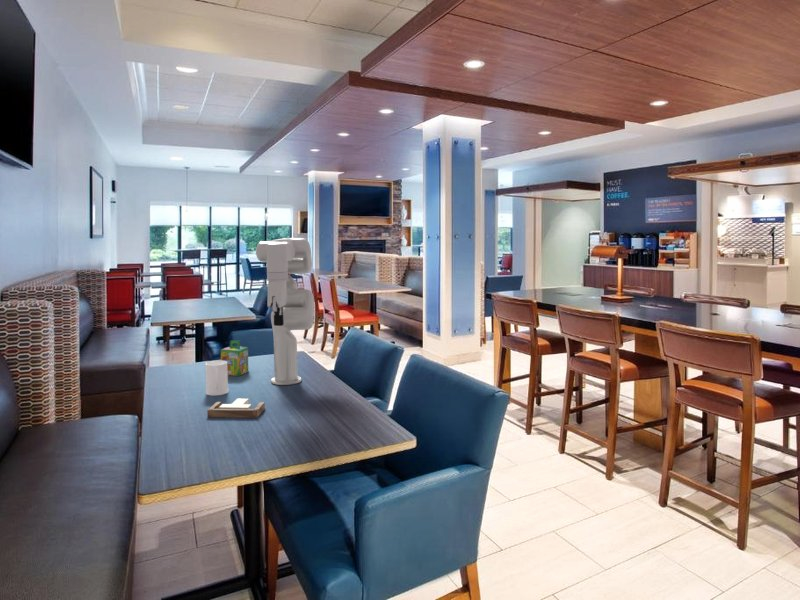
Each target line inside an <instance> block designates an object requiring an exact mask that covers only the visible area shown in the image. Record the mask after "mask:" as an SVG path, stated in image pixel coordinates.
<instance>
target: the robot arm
mask: <svg viewBox="0 0 800 600" xmlns="http://www.w3.org/2000/svg"><path fill="white" fill-rule="evenodd" d="M311 248H312V247H311V244H310V242H309V241H308V239H306V238H303V237H297V238H296V237H284V238H280V239H272V240H262V241H259V242H258V243H257V245H256V248H255V255H256V258H257V259H258V261H259V262H261V263H263V262H264V263H265V262H266V279H267V281H268V284H267V299H266V300H267V301H266V302H267V303H266V304H267V305H266V306H267V308H269V309H270V308H272V311H271V314H270V321H271V327H272V334H273V362H274V365H273V366H274V377H272V378H271V379H270V383H271V384H272V385H277V386H291V385H296V384H299V383H301V381H302V377H301V376H299V375H298V341H297V338H296V336H295V335H294V334H293V333H292V331H305V330H307V331H308V330H310V329H311V328H313V326H314V323H315V320H314V319H315V297H314V294H313V292H312V291H311V290H310V289H306V288H304V289H303V288H298V284H297V283H298V282H297V281H296V280H295V279H294V277H292V276H291V275H292V274H294V275H296V274H298V275H299V274H302V275H303V274H304V275H305V274H310V273H311V271H312V269H313V261H312V260H313V259H312V250H311ZM289 274H290V275H289Z"/></svg>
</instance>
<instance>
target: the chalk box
mask: <svg viewBox="0 0 800 600" xmlns="http://www.w3.org/2000/svg"><path fill="white" fill-rule="evenodd" d="M233 344H236V346H235V345H233ZM220 360H222V361H227V373H228V376H230V375H231V376H232V377H240V376H242V375H244V374H246V373H248V372H249V347H247V346H241V340H230V341H229V346H227V347H224V348H222V349H220ZM247 371H248V372H247ZM245 372H246V373H245Z"/></svg>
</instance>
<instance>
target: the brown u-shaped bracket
mask: <svg viewBox="0 0 800 600" xmlns="http://www.w3.org/2000/svg"><path fill="white" fill-rule="evenodd" d="M221 405H222V401H216V402H215V403H214V404H213V405H212V406H210V407H209V408H208V409H207V414H206V416H207V418H247V419H248V418H259V417H260V415H261V414H262V413H263V412H264V410H265V401H260V402H259V403H258V404H257V405H256V407H255V408H251V409H219V407H220V406H221Z"/></svg>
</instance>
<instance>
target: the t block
mask: <svg viewBox="0 0 800 600" xmlns="http://www.w3.org/2000/svg"><path fill="white" fill-rule="evenodd" d="M249 400H250V399H249V398H240V397H239V398H238V397H237V398H236V399H235V400H234V401H233V402H232V403H221V406H220V407H219V409H252V404H251V403H250V402H249Z"/></svg>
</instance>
